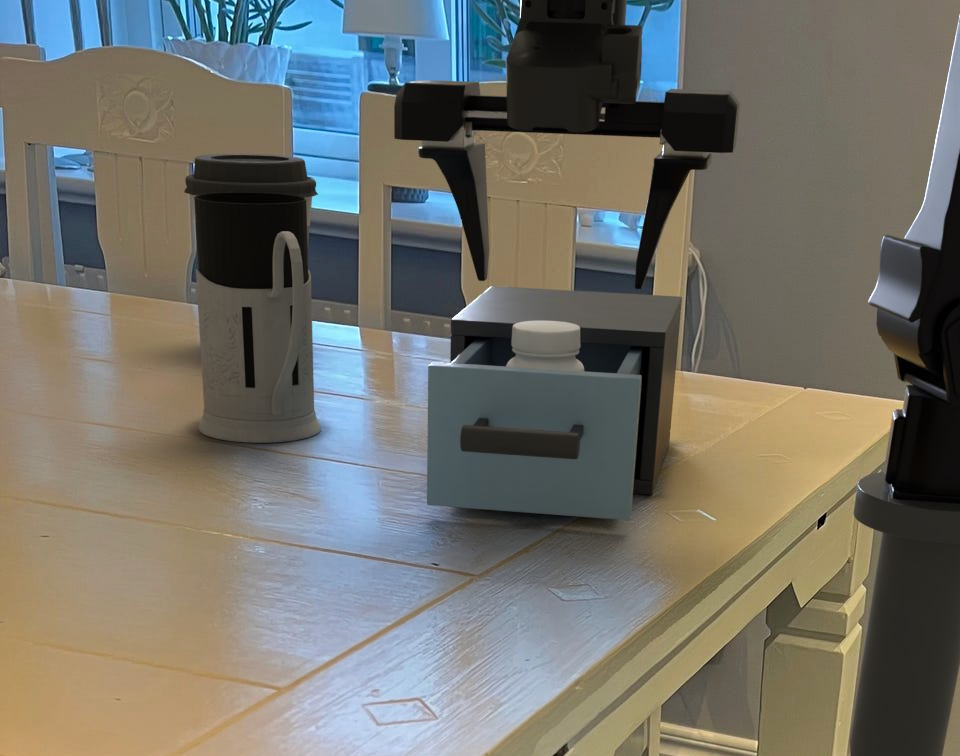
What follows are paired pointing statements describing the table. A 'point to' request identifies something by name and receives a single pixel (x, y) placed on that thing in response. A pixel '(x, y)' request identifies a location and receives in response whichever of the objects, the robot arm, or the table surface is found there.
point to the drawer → (535, 432)
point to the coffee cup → (251, 176)
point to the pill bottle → (546, 345)
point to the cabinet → (599, 323)
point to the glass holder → (255, 317)
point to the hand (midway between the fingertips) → (560, 284)
